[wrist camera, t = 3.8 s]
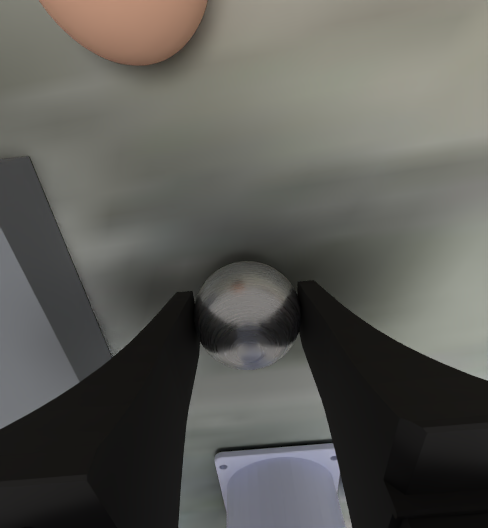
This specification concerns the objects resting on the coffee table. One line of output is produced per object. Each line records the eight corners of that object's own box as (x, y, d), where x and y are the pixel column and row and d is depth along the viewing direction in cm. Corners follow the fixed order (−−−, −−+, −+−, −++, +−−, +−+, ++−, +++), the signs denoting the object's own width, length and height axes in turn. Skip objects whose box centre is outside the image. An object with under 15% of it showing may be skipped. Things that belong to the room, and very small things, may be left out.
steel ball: (291, 317, 14) (311, 390, 10) (206, 325, 14) (197, 399, 10) (290, 239, 12) (314, 295, 8) (192, 248, 12) (175, 307, 8)
